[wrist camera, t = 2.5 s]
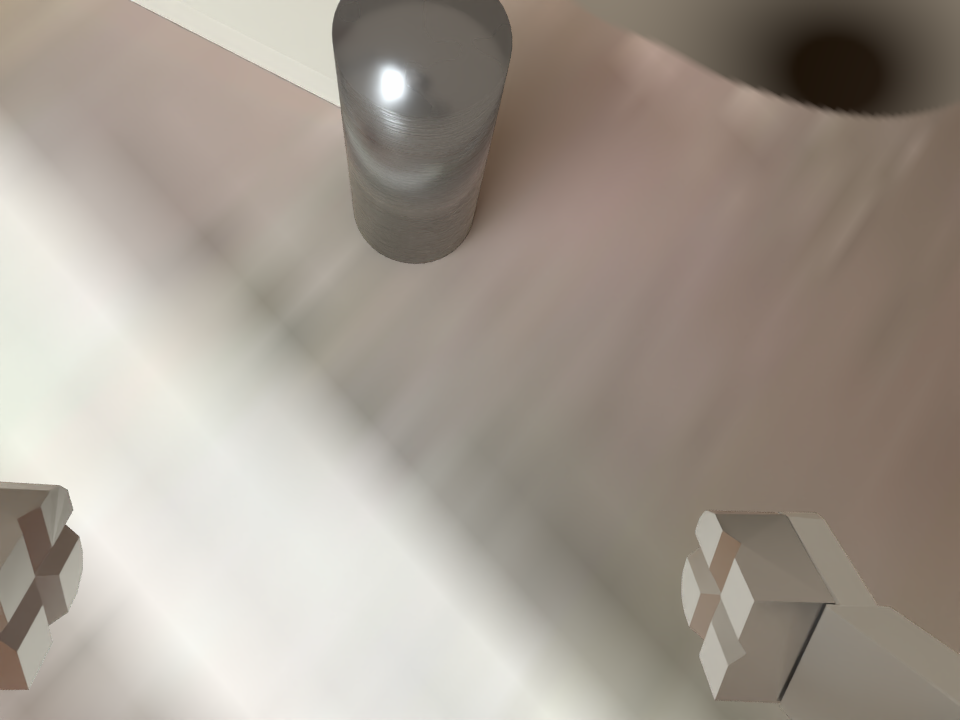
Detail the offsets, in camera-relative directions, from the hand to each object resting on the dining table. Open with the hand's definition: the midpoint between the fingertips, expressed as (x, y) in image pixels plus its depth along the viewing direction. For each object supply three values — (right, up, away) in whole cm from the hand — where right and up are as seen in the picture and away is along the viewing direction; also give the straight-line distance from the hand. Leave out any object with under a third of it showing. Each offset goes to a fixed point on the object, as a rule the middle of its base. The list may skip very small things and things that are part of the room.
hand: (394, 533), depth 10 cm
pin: (-1, +7, +16) cm, 17 cm away
